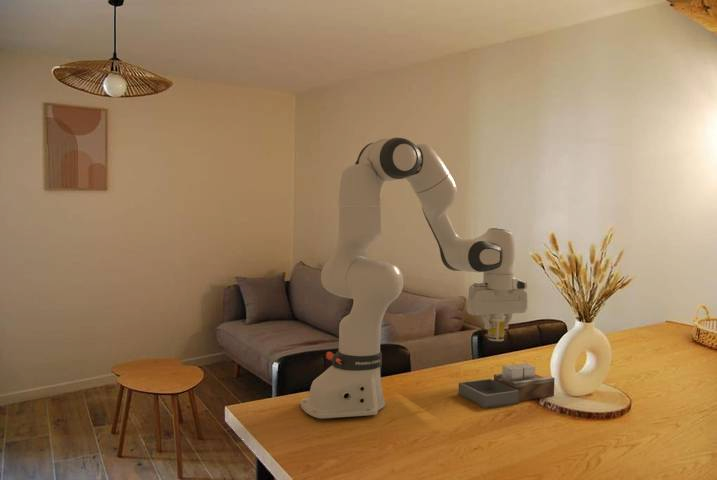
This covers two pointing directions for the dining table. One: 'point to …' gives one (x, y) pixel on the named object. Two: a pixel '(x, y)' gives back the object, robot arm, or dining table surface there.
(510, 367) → the beige cube
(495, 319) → the supplement bottle
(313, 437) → the dining table surface
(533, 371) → the grey small cube
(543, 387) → the channel block
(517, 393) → the bin
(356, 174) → the robot arm
